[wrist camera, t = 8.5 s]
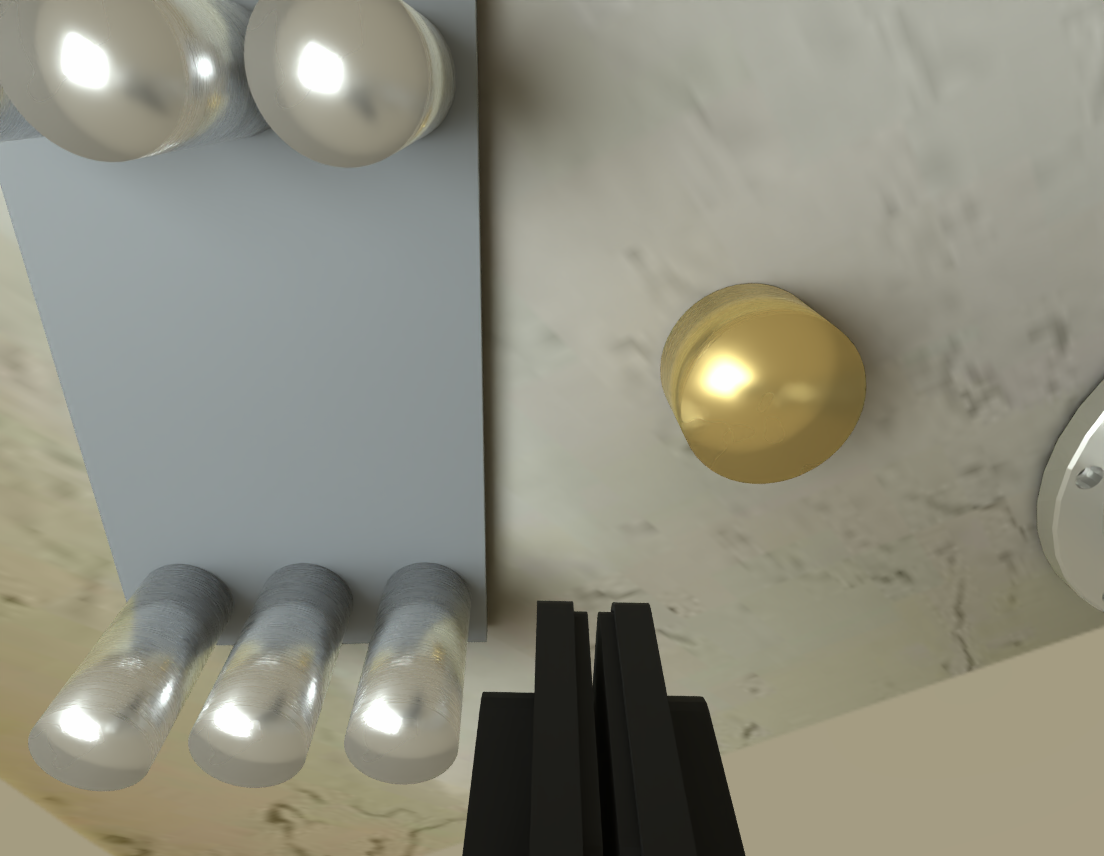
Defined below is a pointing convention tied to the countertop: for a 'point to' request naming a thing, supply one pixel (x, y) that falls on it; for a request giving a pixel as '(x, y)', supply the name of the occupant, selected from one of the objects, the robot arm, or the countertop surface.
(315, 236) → the plate
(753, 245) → the countertop surface
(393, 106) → the steel spacers
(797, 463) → the gold rounded lump
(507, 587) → the countertop surface
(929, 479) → the countertop surface
